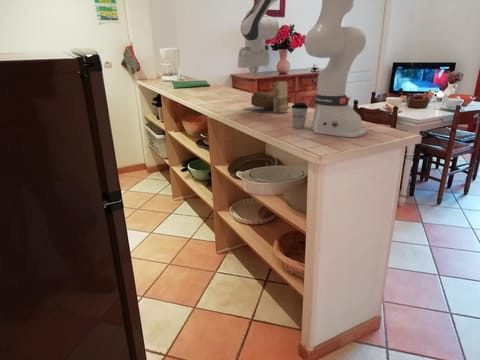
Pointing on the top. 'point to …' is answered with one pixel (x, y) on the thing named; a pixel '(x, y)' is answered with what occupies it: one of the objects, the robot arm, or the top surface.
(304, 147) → the top surface
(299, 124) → the coffee cup
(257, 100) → the block
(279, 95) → the oak post
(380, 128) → the top surface
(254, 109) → the grey rubber mat
